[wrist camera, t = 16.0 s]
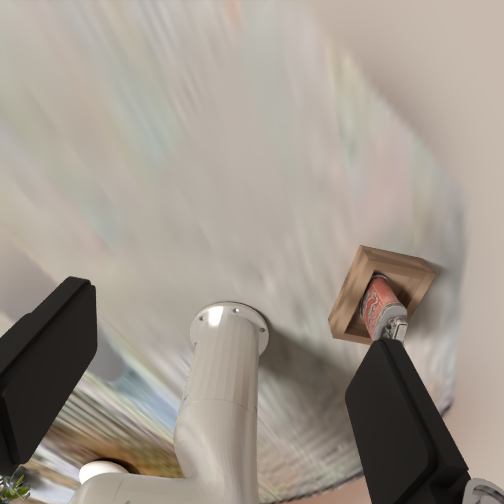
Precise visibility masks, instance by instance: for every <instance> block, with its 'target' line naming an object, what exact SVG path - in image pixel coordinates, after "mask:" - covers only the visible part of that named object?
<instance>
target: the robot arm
mask: <svg viewBox="0 0 504 504" xmlns="http://www.w3.org/2000/svg"><path fill="white" fill-rule="evenodd" d="M190 338H191V341H192V344H193V345H194V347H195V352H194V356H193V360H192V363H191V367H190V371H189V375H188V379H187V382H186V386H185V390H184V394H183V398H182V402H181V405H180V409H179V413H178V417H177V421H176V425H175V429H174V448H175V453H176V456H177V459H178V462H179V465H180V467H181V469H182V471H183V474H184V476H185V478H173V479H172V478H164V477H155V476H146V475H137V474H128V473H114V472H108V473H101V474H98V475H95V476H93V477H91V478H89V479H88V480H86V481H85V482H84V483H83V484H82V485H81V486H80V487H79V488H78V490H77V491H76V492H75V493H74V495H73V497H72V498H71V500H70V501H69V503H68V504H260V502H259V492H258V479H257V411H258V363H259V356H260V355H261V354H262V353H263V351H264V350H265V349H266V347H267V344H268V340H269V331H268V326H267V324H266V322H265V320H264V319H263V318H262V316H261V315H260V314H259V313H258V312H256V311H255V310H253V309H252V308H250V307H248V306H245V305H243V304H239V303H233V302H222V303H216V304H212V305H210V306H208V307H205V308H204V309H202V310H201V311H200V312H199V313H198V314H197V315H196V316H195V318H194V320H193V322H192V325H191V329H190ZM96 351H97V315H96V288H95V286H94V285H91V282H90V280H87V279H82V278H77V277H72V276H70V277H68V278H66V279H65V280H64V281H63V282H62V283H61V284H60V285H59V286H58V287H57V288H56V289H55V290H54V291H53V292H52V293H51V294H50V295H49V296H48V297H47V298H46V299H45V300H44V301H43V302H42V303H41V304H40V305H39V306H38V307H37V308H36V309H35V310H34V311H33V312H32V313H28V314H26V315H24V316H23V317H22V318H21V319H20V320H19V321H17V322H16V323H15V324H14V325H13V326H12V327H11V328H10V329H9V330H8V331H7V332H6V333H5V334H4V335H3V336H2V337H1V338H0V475H1V476H8V477H12V476H13V474H14V472H15V471H16V469H17V468H18V466H19V465H20V464H25V463H27V462H28V461H29V459H30V458H31V456H32V455H33V453H34V452H35V450H36V448H37V447H38V445H39V444H40V442H41V441H42V439H43V437H44V436H45V434H46V433H47V431H48V429H49V428H50V426H51V425H52V423H53V421H54V420H55V418H56V417H57V415H58V413H59V412H60V410H61V409H62V407H63V405H64V404H65V402H66V401H67V399H68V397H69V396H70V394H71V393H72V391H73V389H74V388H75V386H76V385H77V383H78V382H79V380H80V378H81V377H82V375H83V374H84V372H85V370H86V369H87V367H88V365H89V364H90V362H91V361H92V359H93V358H94V356H95V353H96ZM345 400H346V405H347V409H348V413H349V416H350V420H351V424H352V428H353V432H354V436H355V440H356V444H357V448H358V451H359V455H360V459H361V463H362V467H363V471H364V475H365V479H366V483H367V486H368V490H369V494H370V498H371V502H372V504H504V491H503V490H502V489H501V488H499V487H498V486H496V485H495V484H493V483H492V482H489V481H487V480H484V479H480V478H473V479H471V477H470V475H469V474H468V472H467V470H469V468H468V467H467V465H466V463H465V461H464V459H463V457H462V455H461V453H460V451H459V450H458V448H457V446H456V444H455V442H454V440H453V438H452V436H451V435H450V433H449V431H448V429H447V427H446V425H445V423H444V421H443V420H442V418H441V416H440V414H439V412H438V410H437V408H436V406H435V405H434V403H433V401H432V399H431V397H430V395H429V393H428V391H427V390H426V388H425V386H424V384H423V382H422V380H421V378H420V376H419V374H418V373H417V371H416V369H415V367H414V365H413V363H412V361H411V359H410V358H409V356H408V354H407V352H406V350H405V348H404V346H403V344H402V343H401V341H399V340H397V339H392V338H386V337H380V338H379V339H378V340H375V341H373V343H372V345H371V346H370V348H369V350H368V352H367V354H366V356H365V357H364V359H363V361H362V363H361V365H360V366H359V368H358V370H357V372H356V374H355V376H354V377H353V379H352V381H351V383H350V385H349V387H348V388H347V390H346V394H345Z"/></svg>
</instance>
